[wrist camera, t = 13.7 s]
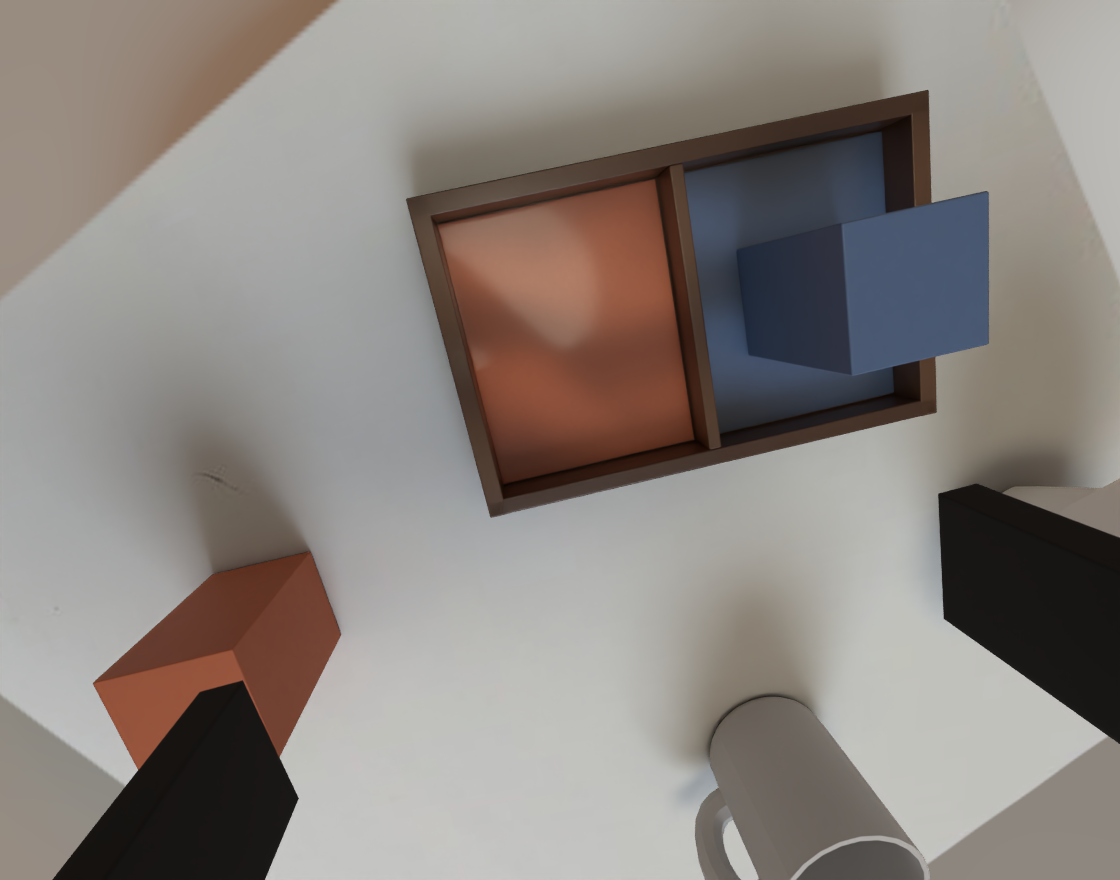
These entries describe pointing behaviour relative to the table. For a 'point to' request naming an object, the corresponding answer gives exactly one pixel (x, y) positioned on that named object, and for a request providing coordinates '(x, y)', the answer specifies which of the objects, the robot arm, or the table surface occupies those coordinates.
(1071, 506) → the potted plant
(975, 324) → the blue bar
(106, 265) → the table surface
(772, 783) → the cup
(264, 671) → the terracotta bar
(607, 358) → the tray
